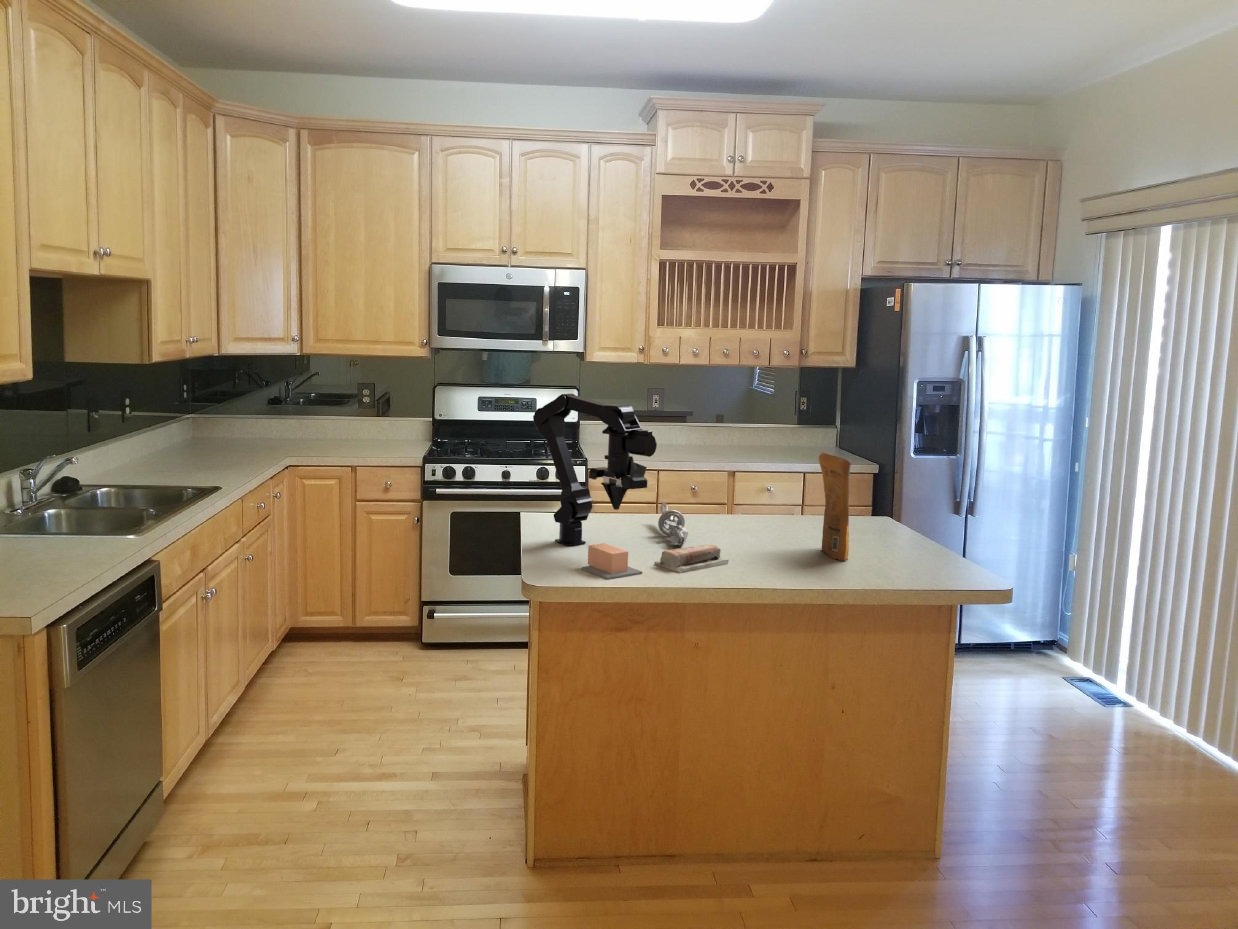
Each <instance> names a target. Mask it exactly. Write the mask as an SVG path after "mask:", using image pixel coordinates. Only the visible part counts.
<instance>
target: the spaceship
mask: <svg viewBox="0 0 1238 929" xmlns="http://www.w3.org/2000/svg"><path fill="white" fill-rule="evenodd" d="M660 512H661V515H660V516H659V518H658V521H657V526H658V530H659V531H660V532H661V533H662V534H663V535H665V536H668V540H669V542H670V543H671V542H672V543H673V544H676V545H678V546H679V547H684V545H685V543H686V541H687V539H688V535H689V532H688V530H687V529H686V528H685V526H686V524H685V523H686V520H685V516H684V515H683V514H682V513H681V512H680V511H677V510H675V509H674V510H673V509H668V504H667V503H666V502H662V503H661V505H660ZM675 518H676V519H677V520H676V519H675ZM667 527H668V528H667Z"/></svg>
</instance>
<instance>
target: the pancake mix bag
mask: <svg viewBox="0 0 1238 929" xmlns="http://www.w3.org/2000/svg"><path fill="white" fill-rule="evenodd" d="M818 463H819V466H820V470H821V473H822V482H823V491H824V492H823V493H824V498H825V499H824V500H825V503H824V504H825V506H824V513H823V524H822V525H823V526H822V536H821V537H822V538H821V549H822V550H823V551H822V550H821V551H822V552H824V553H825V554H826V555H828V556H829V557H830V558H831V557H832V558H833V559H834V560H836V559H838V560H837V561H844V562H845V561H846V560H848V559H849V552H850V543H849V542H850V533H849V532H850V525H849V522H850V520H849V519H850V518H849V517H850V504H849V502H850V475H851V474H850V473H851V466H852V463H851V462H850V461H849V460H848V459H845V458H843V457H840V456H838V455H837V456H836V455H832V454H828V453H825V452H821V453H820V454H819V455H818ZM832 558H831V559H832Z"/></svg>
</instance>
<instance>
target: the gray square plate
mask: <svg viewBox="0 0 1238 929" xmlns="http://www.w3.org/2000/svg"><path fill="white" fill-rule="evenodd" d="M580 569H581V570H583V571H585V572H589V573H590V574H592V575H595V576H598V577H600V578H603V579H606V580H612V579H619V578H624V577H631V576H637V575H642V574H643V571H642V570H639V569H636V568H633V567H631V566H629V565H628V569H627V571H625V572H619V573H613V574H611V573H609V572H606V571H603V570H601V569H598V568H596V567H593V566H590V565H587V566H581V567H580Z"/></svg>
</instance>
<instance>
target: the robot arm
mask: <svg viewBox="0 0 1238 929" xmlns="http://www.w3.org/2000/svg"><path fill="white" fill-rule="evenodd" d="M572 411H574V412H577V413H580V414H583V415H588V416H590V417H593V418H597V419H599V420H600V421H601V422H602V423H603V424H605V425H607V426H606V428H605V429H603V430H601V434H604V435H608V445H607V446H608V447H607V448H608V449H607V454H604V460H607V467H606V466H601V467H591V468H590V469H589V471H588V479H591V480H597V479H598V478H603V482H601V483H600V484H601V485H602V487H603V488H604V491H605V492H606V495H607V498H609V502H610V503H611V505H612V507H613V510H616V511H619V509H620V508H621V504H622V503H623V502H622V501H623V500H624V498H625V495H626V493H627V491H628V490H638V489H647V488H648V481H649V480H648V479H647V478H646V477H645V475H646V473H647V472H646V471H647V468H648V467H647V466H645V465H642V464H639V463H636V462H635V460H634V457H633V456H632V455H635V456H641V457H642V456H644V457H650V458H651V457H652V456H654V454H655V453H656V450H657V445H658V444H657V443H658V442H657V440H656V438H655V436H654V435H653V430H650V429H647V430H645V429H643V428H642V426H641V423H640V422H639V419H638V417H637V416H636V414H635V411H634V408H633V406H631V405H630V404H622V403H621V404H620V403H606V402H605V403H604V402H601V401H597V400H593V399H590V398H586V397H583V396H579V395H576V394H575V393H561V394H560V395H558V396H557V397H556V398H555V399H553V400H552V401H549V402H548V403H546V404H544V405H543V406H542V407H539V408H537V409H536V410H535V412H534V414H533V416H532V420H533V423H534V425H535V427H536V430H537V431H538V433H539V434H540V435H541V437H543V439H545V440H546V443H547V446H548V449H549V453H550V455H551V458H552V461H553V462H552V463H553V464H554V469H555V471H556V474H557V477H558V481H559V484H560V487H561V493H560V497H559V498H560V499H559V500H560V508H558V509H557V510H556V511H555V512H554V513H553V518H554V522H555V523H558V524H559V533H558V534H559V536H558V537H559V538H556V539H554V542H555V543H559V544H560V545H564V546H566V547H567V546H568V547H569V546H579V545H582V544H583V545H584V544H587V542H586V541H585V540H583V521H584V522H585V521H587V520H588V518H589V515H590V513H591V512H592V509H593V501H594V499H593V498H592V496H591V492H590V489H589V487H583V486H581V484H580V482H579V480H578V476H577V474H576V471H575V467H574V464H573V461H572V458H571V455H570V451H569V449H568V446H567V443H566V439H565V429H566V421H565V419H566V418H567V417H568V416H570V415H571V412H572Z"/></svg>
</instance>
